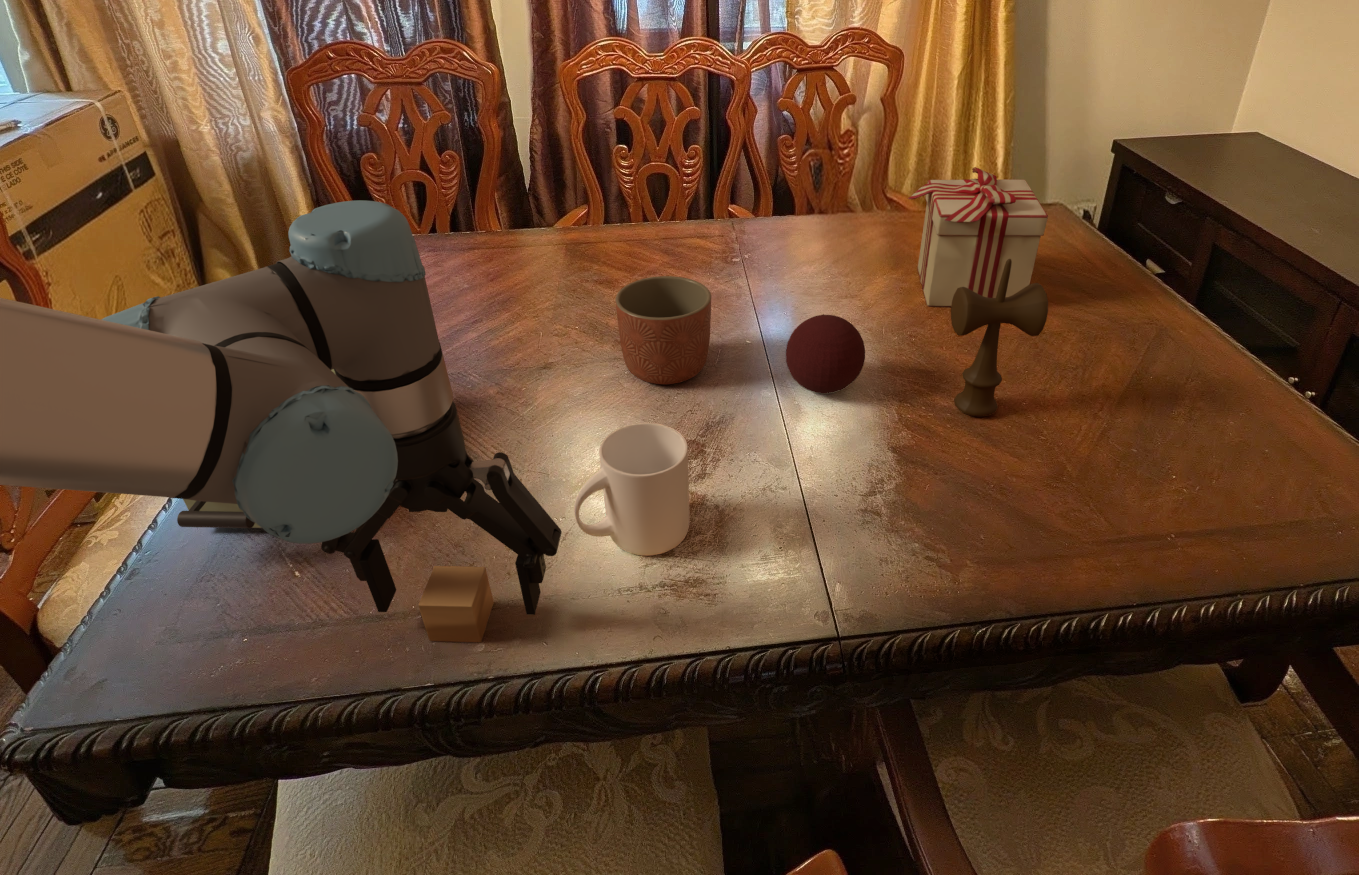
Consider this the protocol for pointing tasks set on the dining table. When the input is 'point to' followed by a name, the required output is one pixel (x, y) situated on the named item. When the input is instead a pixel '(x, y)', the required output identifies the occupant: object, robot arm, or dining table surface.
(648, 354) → the planter
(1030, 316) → the kendama
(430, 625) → the block
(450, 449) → the robot arm
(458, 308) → the dining table surface
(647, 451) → the mug
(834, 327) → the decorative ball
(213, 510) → the drawer
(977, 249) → the gift box
